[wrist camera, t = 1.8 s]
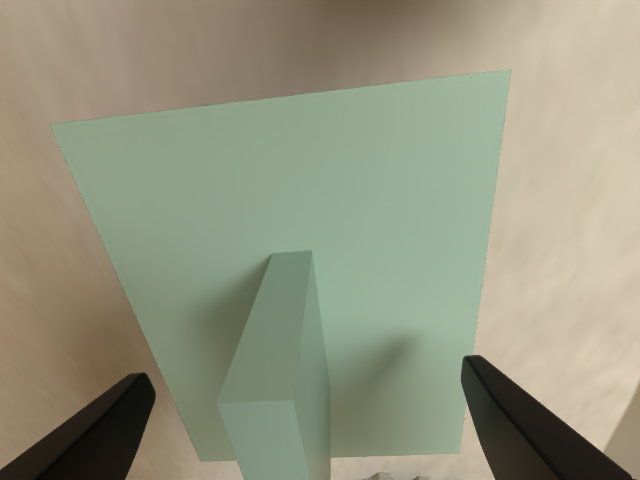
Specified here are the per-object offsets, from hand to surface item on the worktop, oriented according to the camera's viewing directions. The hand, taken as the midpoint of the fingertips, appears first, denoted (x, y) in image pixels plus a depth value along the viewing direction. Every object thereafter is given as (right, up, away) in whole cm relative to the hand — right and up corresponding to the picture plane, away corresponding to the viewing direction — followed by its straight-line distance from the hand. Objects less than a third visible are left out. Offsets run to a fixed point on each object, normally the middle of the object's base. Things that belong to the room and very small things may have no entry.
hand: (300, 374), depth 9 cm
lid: (0, +2, +4) cm, 4 cm away
